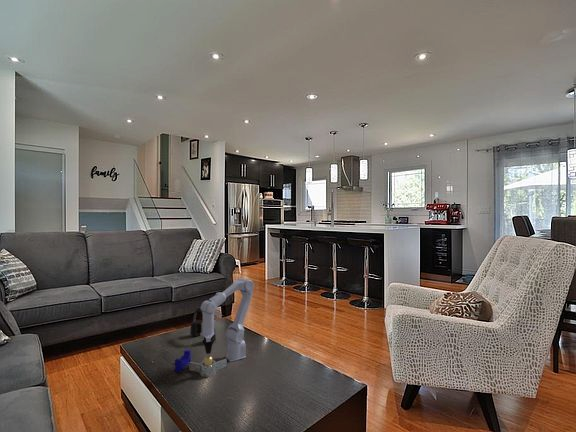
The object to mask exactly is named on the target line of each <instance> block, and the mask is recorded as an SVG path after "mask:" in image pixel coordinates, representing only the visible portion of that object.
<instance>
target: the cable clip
mask: <svg viewBox="0 0 576 432" xmlns="http://www.w3.org/2000/svg"><path fill="white" fill-rule="evenodd" d="M191 356H192V354H191V350H190V349H189V350H188V349H185V350H184V351H183V354H182V355H181V356H180V358H175V360H174V372H175V373H176V372H177V373H179V372H180V373H181V372H183V370H184V369H185V368H186V367H187V366H188V364H190V362H192V360H191V359H192V358H191Z"/></svg>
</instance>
